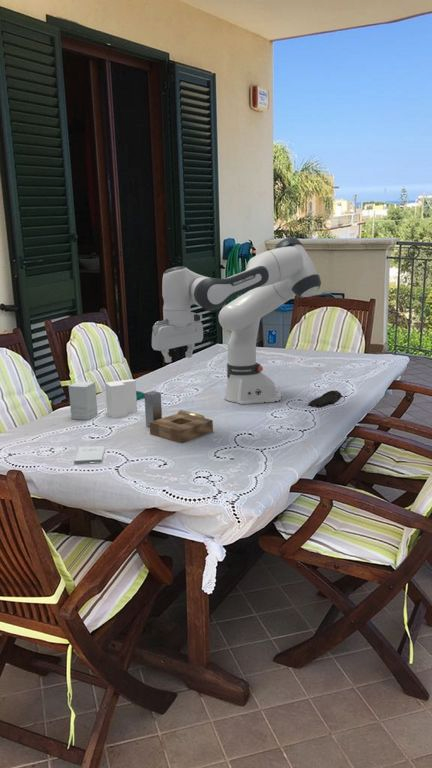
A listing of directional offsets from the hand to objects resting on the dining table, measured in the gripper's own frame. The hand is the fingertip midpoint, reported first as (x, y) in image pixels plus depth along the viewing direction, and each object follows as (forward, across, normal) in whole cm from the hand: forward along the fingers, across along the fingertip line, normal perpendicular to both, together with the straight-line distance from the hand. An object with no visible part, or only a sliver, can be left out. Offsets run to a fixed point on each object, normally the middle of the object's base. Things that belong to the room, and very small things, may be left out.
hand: (178, 359), depth 215 cm
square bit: (+25, -1, +13) cm, 28 cm away
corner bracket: (+25, +3, +35) cm, 43 cm away
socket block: (+25, 0, 0) cm, 25 cm away
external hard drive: (+26, -34, +5) cm, 43 cm away
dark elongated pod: (+26, +63, -16) cm, 70 cm away
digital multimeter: (+26, +14, +46) cm, 55 cm away
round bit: (+24, +11, +5) cm, 27 cm away
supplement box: (+25, -10, +41) cm, 50 cm away
